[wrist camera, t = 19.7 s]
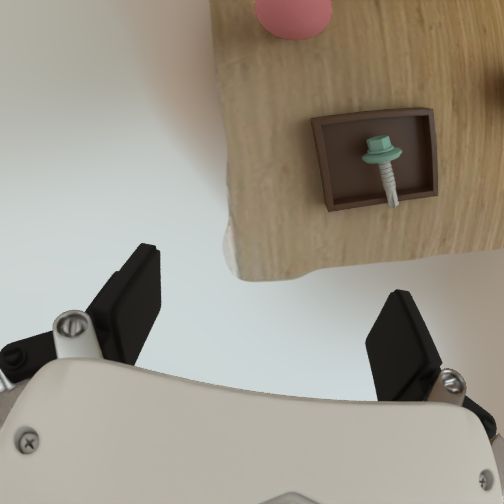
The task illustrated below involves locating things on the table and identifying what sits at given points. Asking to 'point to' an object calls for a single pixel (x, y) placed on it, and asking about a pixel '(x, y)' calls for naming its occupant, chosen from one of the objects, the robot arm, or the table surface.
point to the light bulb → (294, 17)
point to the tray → (368, 175)
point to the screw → (384, 163)
